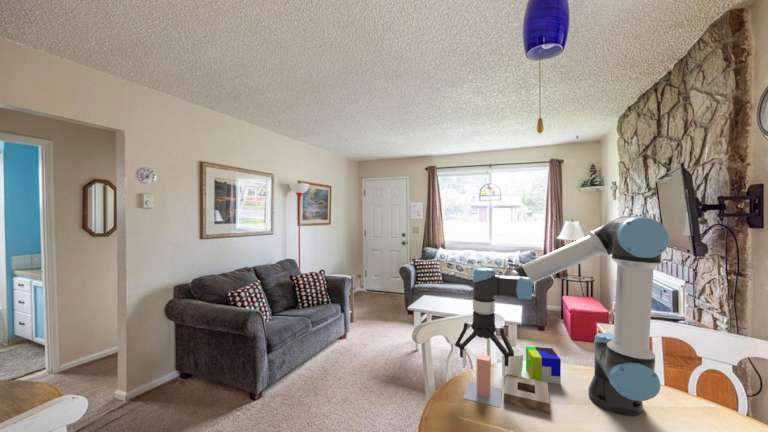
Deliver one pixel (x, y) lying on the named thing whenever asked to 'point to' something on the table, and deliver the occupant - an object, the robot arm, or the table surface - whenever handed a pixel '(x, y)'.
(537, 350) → the puzzle toy
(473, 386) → the mat
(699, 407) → the table surface
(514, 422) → the table surface
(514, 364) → the white cup
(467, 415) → the table surface
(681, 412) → the table surface
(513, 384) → the pocket block
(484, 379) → the peg
